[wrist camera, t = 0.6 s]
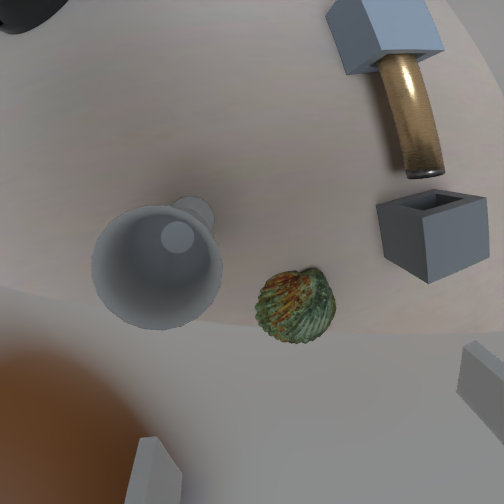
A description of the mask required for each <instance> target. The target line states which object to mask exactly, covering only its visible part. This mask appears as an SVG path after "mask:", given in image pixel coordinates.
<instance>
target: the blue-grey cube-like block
mask: <svg viewBox="0 0 504 504" xmlns="http://www.w3.org/2000/svg"><path fill="white" fill-rule="evenodd" d="M325 17H326V19H327V22H328V24H329V27H330V29H331V32H332V35H333V37H334V40H335V43H336V45H337V48H338V51H339V54H340V56H341V59H342V62H343V65H344V68H345V71H346V74H347V75H349V74H358V73H368V72H380V71H379V68H378V65H377V63H376V61H377V60H379V59H380V58H382V57H383V56H385V55H386V54H399V53H414V54H415V57H416V60H417V63H418V62H421V61H423V60H425V59H427V58H429V57H431V56H433V55H436V54H438V53H440V52H442V51H445V49H444V46H443V44H442V41H441V38H440V36H439V33H438V31H437V28H436V26H435V24H434V21H433V19H432V17H431V14H430V12H429V10H428V8H427V6H426V3H425V1H424V0H337V1H336V2H335V4H334V5H333V6H332V8H331V9H330V11H329V12H328V13H327V15H326V16H325Z"/></svg>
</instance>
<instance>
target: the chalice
mask: <svg viewBox="0 0 504 504" xmlns="http://www.w3.org/2000/svg"><path fill="white" fill-rule="evenodd" d="M213 226H214V215H213V211H212V209H211V208H210V206H209V204H208V203H206V202H205V201H204V200H203V199H200V198H198V197H193V196H187V197H183V198H180V199H179V200H177V201H176V202H174V204H173V205H164V206H149V205H146V206H143V207H139V208H136V209H133V210H129V211H126V212H125V213H123V214H122V215H120V216H119V217H117V218H116V219H114V220H113V221H112V222H110V223H109V224H108V226H107V227H106V228H105V230H104V231H103V232H102V234H101V235H100V236H99V238H98V239H97V242H96V245H95V248H94V251H93V254H92V279H93V282H94V285H95V288H96V291H97V294H98V296H99V297H100V298H101V300H102V301H103V303H104V304H105V305H106V307H107V308H108V309H109V310H110V311H111V312H112V313H114V314H115V315H116V316H117V317H119V318H120V319H121V320H123V321H124V322H126V323H128V324H131V325H134V326H137V327H139V328H142V329H151V330H167V329H171V328H176V327H181V326H183V325H185V324H187V323H189V322H190V321H192V320H194V319H196V318H198V317H199V316H200V315H201V314H202V313H203V312H204V311H205V310H206V309H207V308H208V307H209V306H210V305H211V304H212V302H213V300H214V298H215V296H216V294H217V292H218V290H219V288H220V285H221V277H222V268H223V264H222V260H221V256H220V252H219V247H218V244H217V243H216V241H215V240H214V237H213V233H212V228H213Z"/></svg>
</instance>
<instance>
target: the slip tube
mask: <svg viewBox="0 0 504 504" xmlns="http://www.w3.org/2000/svg"><path fill="white" fill-rule="evenodd" d="M376 63H377V65H378V68H379V71H380V74H381V78H382V81H383V84H384V87H385V90H386V94H387V97H388V100H389V104H390V107H391V111H392V115H393V118H394V122H395V126H396V130H397V134H398V138H399V142H400V147H401V151H402V156H403V160H404V165H405V170H406V175H407V178H408V179H422V178H430V177H436V176H440V175H443V174H445V168H444V162H443V157H442V152H441V147H440V142H439V137H438V133H437V129H436V124H435V120H434V116H433V112H432V109H431V105H430V101H429V98H428V94H427V91H426V87H425V84H424V81H423V78H422V75H421V71H420V68H419V65H418V63H417V60H416V57H415V54H414V53H399V54H386V55H385V56H383V57H382V58H380V59H379V60H377V61H376Z"/></svg>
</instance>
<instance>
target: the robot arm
mask: <svg viewBox="0 0 504 504" xmlns="http://www.w3.org/2000/svg"><path fill="white" fill-rule="evenodd" d="M66 1H67V0H0V30H1V31H3V32H5V33H8V34H18V33H22V32H25V31H28V30H30V29H32V28H34V27H36V26H38V25H39V24H41V23H42V22H44V21H45V20H47V19H48V18H49V17H50V16H52V15H53V14H54V13H55V12H56V11H57V10H59V9H60V8H61V7H62V6H63V5H64V4H65V2H66ZM456 392H457V394H458V395H459V396H460V397H461V398H462V399H463V400H464V401H465V402H466V403H467V404H468V405H469V407H470V408H471V409H472V410H473V411H474V412H475V413H476V414H477V415H478V417H479V418H480V419H481V420H482V421H483V422H484V423H485V424H486V425H487V426H488V428H489V429H490V430H491V431H492V432H493V433H494V434H495V436H496V437H497V438H498V439H499V440H500V441H501V442H502V443H503V445H504V362H502V361H501V360H500V359H499V358H497V357H496V356H495V355H493V354H492V353H491V352H490V351H489V350H487V349H486V348H485V347H483V346H482V345H481V344H480V343H478V342H477V341H473V342H471V343H469V344H467V345H465V346H463V352H462V360H461V366H460V373H459V379H458V385H457V391H456ZM181 483H182V473H181V471H180V470H179V469H178V467H177V466H176V465H175V463H174V461H173V460H172V459H171V457H170V456H169V454H168V453H167V451H166V450H165V448H164V447H163V445H162V444H161V442H160V440H159V439H158V437H148V438H140V441H139V445H138V449H137V453H136V457H135V461H134V465H133V469H132V473H131V477H130V482H129V486H128V490H127V494H126V499H125V503H124V504H180V495H181Z"/></svg>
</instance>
